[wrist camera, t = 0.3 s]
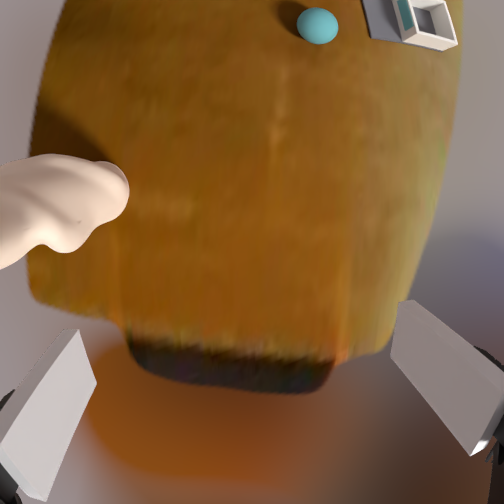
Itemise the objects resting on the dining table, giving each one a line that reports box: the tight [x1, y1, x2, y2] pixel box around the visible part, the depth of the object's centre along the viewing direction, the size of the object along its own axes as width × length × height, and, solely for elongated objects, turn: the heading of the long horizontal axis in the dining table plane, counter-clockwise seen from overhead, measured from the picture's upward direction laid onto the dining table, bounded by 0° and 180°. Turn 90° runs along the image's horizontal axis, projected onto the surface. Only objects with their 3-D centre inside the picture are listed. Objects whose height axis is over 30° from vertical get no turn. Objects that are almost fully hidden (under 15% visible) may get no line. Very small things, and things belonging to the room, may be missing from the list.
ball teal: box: [297, 8, 338, 44], centre depth 30 cm, size 5×5×5 cm
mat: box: [362, 0, 443, 52], centre depth 31 cm, size 16×13×1 cm
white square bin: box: [392, 0, 458, 51], centre depth 30 cm, size 8×8×4 cm
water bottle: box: [0, 154, 129, 269], centre depth 22 cm, size 10×9×28 cm
